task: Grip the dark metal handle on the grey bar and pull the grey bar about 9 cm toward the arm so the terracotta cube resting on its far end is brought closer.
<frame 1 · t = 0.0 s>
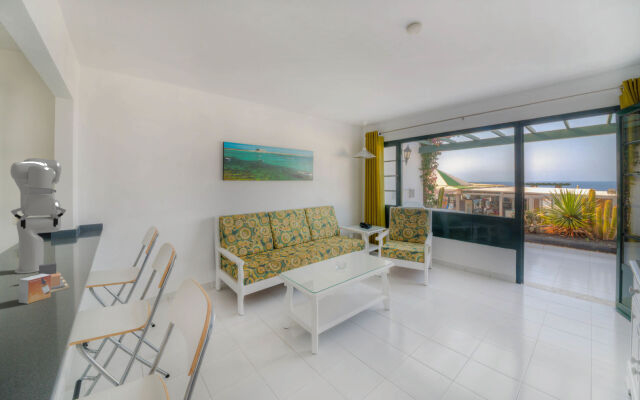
hand: (39, 227, 117), 31 cm above the table, tool pointing down, fingers open, 9 cm apart
small box: (35, 300, 110), on the table
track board: (48, 283, 128), on the table
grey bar: (50, 275, 125), point 5 cm above the table, slide at 0.0 cm, touching cube
cube: (51, 285, 121), point 2 cm above the table, touching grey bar
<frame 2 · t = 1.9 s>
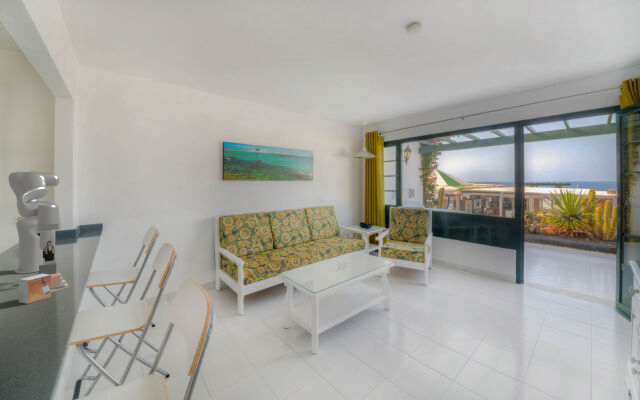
hand: (48, 259, 130), 12 cm above the table, tool pointing down, fingers open, 9 cm apart
nothing on the table moved.
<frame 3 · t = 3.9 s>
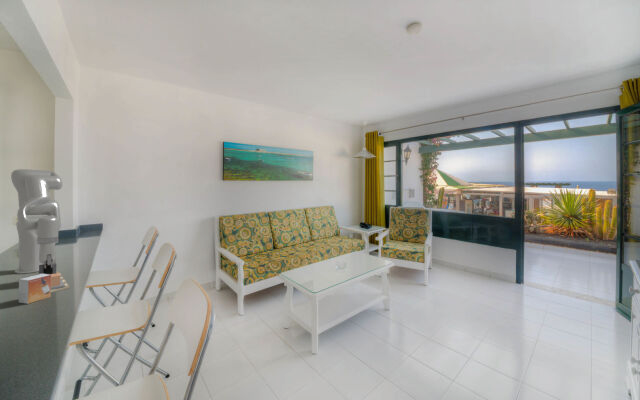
hand: (47, 274, 131), 4 cm above the table, tool pointing down, fingers closed on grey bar, 2 cm apart
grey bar: (50, 275, 125), point 5 cm above the table, slide at 0.0 cm, touching cube, gripper
everything else where it was.
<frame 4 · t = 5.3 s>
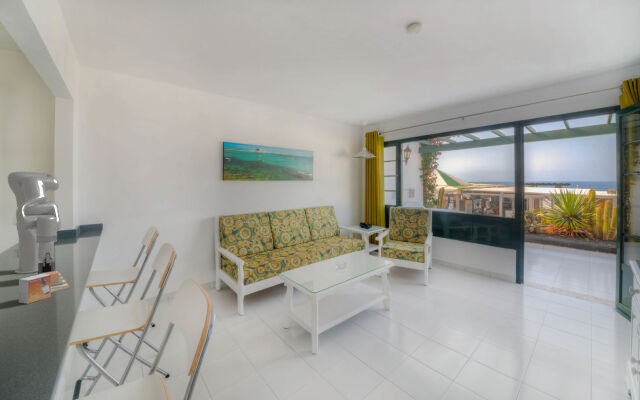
hand: (46, 272, 134), 4 cm above the table, tool pointing down, fingers closed on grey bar, 2 cm apart
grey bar: (48, 273, 128), point 5 cm above the table, slide at 4.9 cm, touching cube, gripper
cube: (50, 282, 124), point 2 cm above the table, touching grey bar
everything else where it was.
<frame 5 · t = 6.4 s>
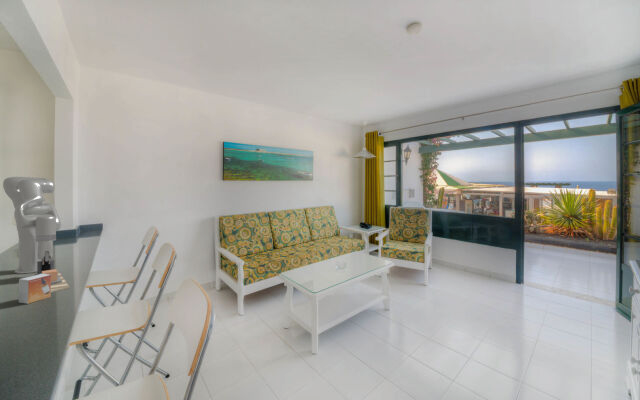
hand: (45, 270, 136), 4 cm above the table, tool pointing down, fingers closed on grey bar, 2 cm apart
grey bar: (47, 271, 130), point 5 cm above the table, slide at 9.0 cm, touching cube, gripper
cube: (49, 280, 126), point 2 cm above the table, touching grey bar
everything else where it was.
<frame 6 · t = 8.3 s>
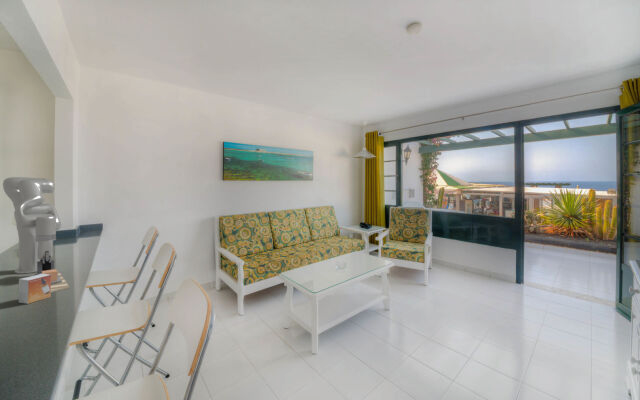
hand: (45, 268, 136), 5 cm above the table, tool pointing down, fingers open, 9 cm apart
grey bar: (47, 271, 130), point 5 cm above the table, slide at 9.0 cm, touching cube
everything else where it was.
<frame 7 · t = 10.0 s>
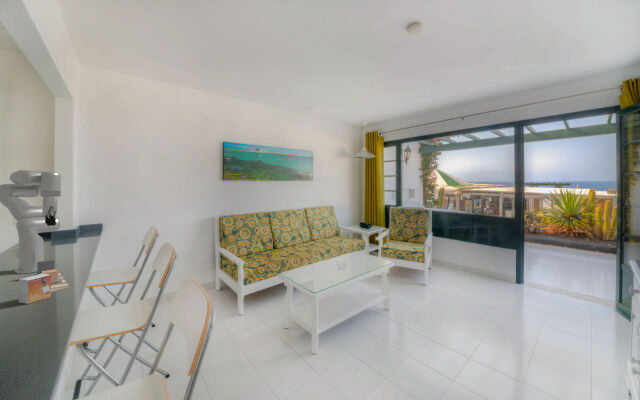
hand: (50, 224, 137), 29 cm above the table, tool pointing down, fingers open, 9 cm apart
nothing on the table moved.
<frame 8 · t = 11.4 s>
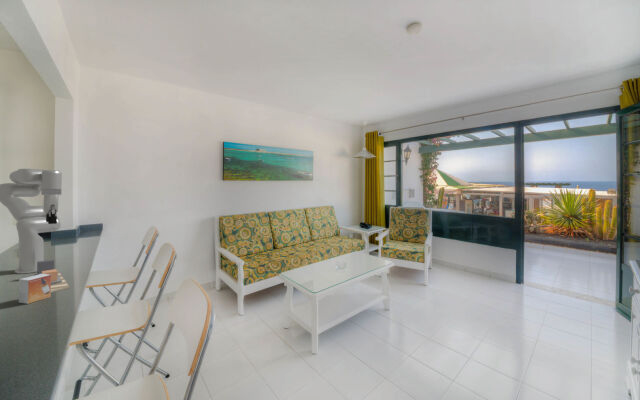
hand: (51, 222, 137), 30 cm above the table, tool pointing down, fingers open, 9 cm apart
nothing on the table moved.
at the end: cube inside the target area (0.5 cm from its centre), point 2.0 cm above the table; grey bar slide at 9.0 cm; cube tilted 0° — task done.
